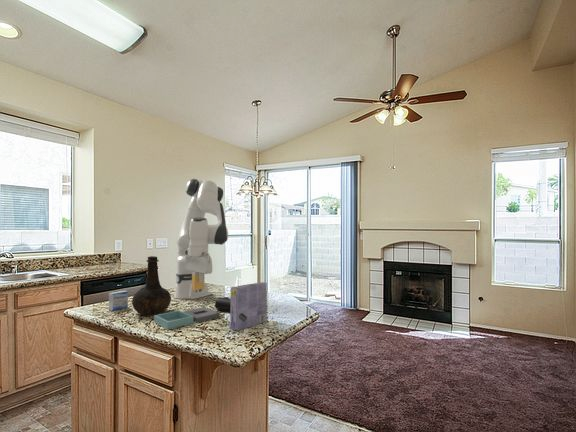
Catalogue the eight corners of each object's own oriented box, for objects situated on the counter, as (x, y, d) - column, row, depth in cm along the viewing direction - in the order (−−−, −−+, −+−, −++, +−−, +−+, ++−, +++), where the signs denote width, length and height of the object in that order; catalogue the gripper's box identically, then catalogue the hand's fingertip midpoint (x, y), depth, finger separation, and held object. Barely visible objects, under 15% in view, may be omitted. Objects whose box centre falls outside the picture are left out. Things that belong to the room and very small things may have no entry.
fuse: (201, 287, 150) (201, 271, 150) (204, 288, 148) (204, 271, 148) (191, 289, 146) (192, 272, 146) (194, 290, 144) (194, 272, 145)
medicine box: (112, 310, 159) (112, 293, 159) (108, 309, 162) (108, 292, 162) (128, 307, 165) (128, 291, 165) (124, 306, 168) (124, 290, 168)
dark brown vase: (156, 306, 167) (156, 254, 168) (178, 311, 158) (179, 255, 159) (123, 314, 152) (124, 257, 153) (147, 320, 143) (147, 259, 143)
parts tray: (179, 317, 147) (179, 310, 147) (193, 324, 137) (193, 316, 137) (154, 323, 139) (154, 315, 139) (167, 330, 129) (167, 322, 129)
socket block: (204, 312, 156) (204, 307, 156) (219, 318, 146) (219, 312, 146) (181, 317, 148) (181, 311, 148) (196, 323, 138) (196, 318, 138)
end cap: (214, 312, 157) (214, 298, 157) (223, 308, 163) (223, 295, 163) (231, 314, 152) (231, 300, 152) (239, 311, 159) (239, 297, 159)
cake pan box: (261, 318, 145) (261, 280, 146) (269, 320, 142) (269, 281, 143) (229, 329, 131) (229, 287, 131) (237, 332, 127) (237, 288, 128)
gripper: (216, 253, 142) (215, 283, 142) (194, 250, 157) (194, 277, 157) (203, 253, 138) (203, 285, 137) (182, 250, 153) (182, 279, 152)
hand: (198, 281), depth 147 cm, fingers closed on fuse, 3 cm apart
